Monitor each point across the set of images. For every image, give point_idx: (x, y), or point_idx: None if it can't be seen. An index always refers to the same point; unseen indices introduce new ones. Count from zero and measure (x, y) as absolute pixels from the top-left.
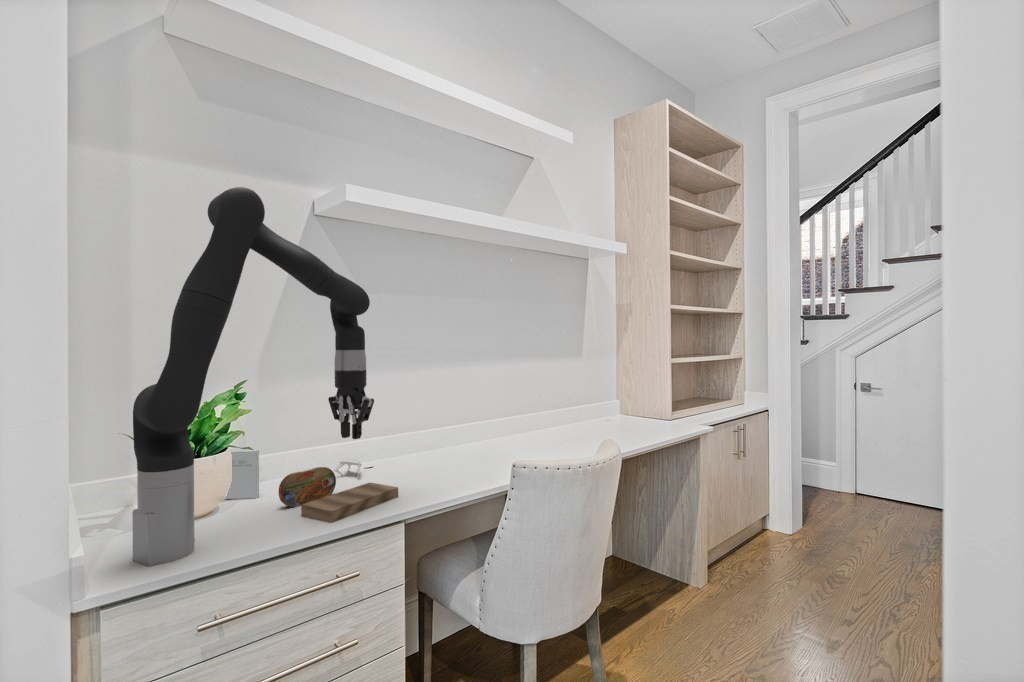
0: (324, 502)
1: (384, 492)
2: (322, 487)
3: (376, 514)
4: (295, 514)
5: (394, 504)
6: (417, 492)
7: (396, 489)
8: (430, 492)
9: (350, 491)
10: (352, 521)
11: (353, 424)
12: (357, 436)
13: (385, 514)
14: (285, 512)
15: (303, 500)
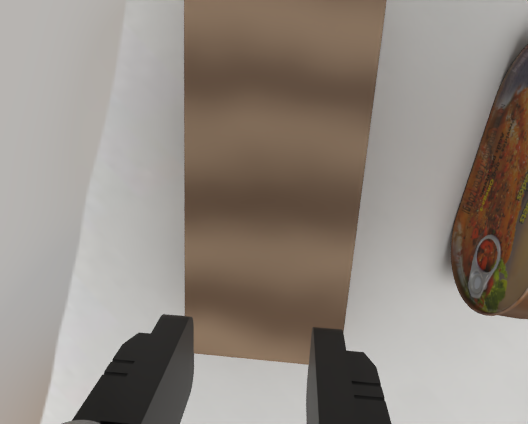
0: (310, 64)
1: (185, 282)
2: (485, 233)
3: (138, 161)
4: (434, 16)
5: (163, 274)
6: (188, 404)
7: None
8: None
9: (321, 238)
10: (157, 59)
11: (111, 420)
12: (133, 339)
13: (111, 175)
14: (497, 16)
15: (501, 130)
